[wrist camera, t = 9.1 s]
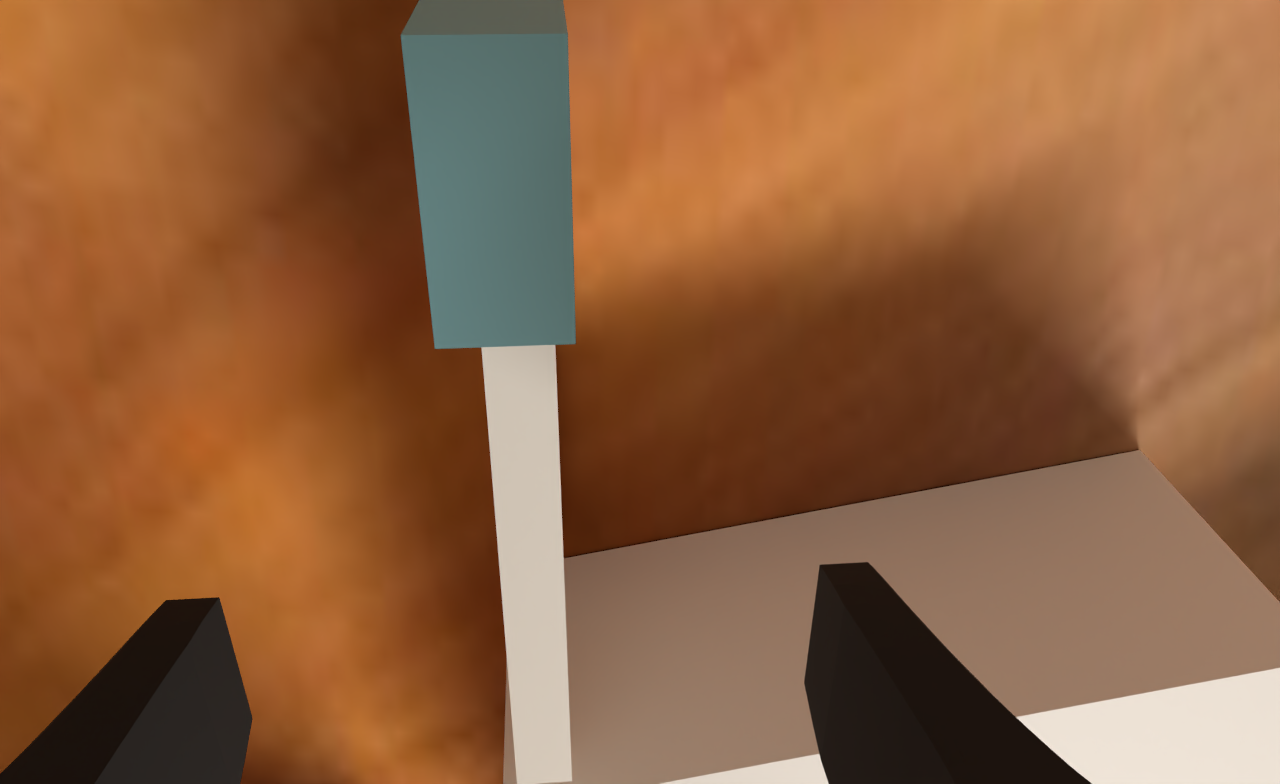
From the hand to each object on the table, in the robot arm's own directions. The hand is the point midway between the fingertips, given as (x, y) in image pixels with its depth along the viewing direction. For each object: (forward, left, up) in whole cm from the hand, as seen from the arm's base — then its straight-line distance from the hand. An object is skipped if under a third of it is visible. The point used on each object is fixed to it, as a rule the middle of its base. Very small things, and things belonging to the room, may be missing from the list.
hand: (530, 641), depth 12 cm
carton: (+6, -13, -10) cm, 18 cm away
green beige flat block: (0, 0, -10) cm, 10 cm away
